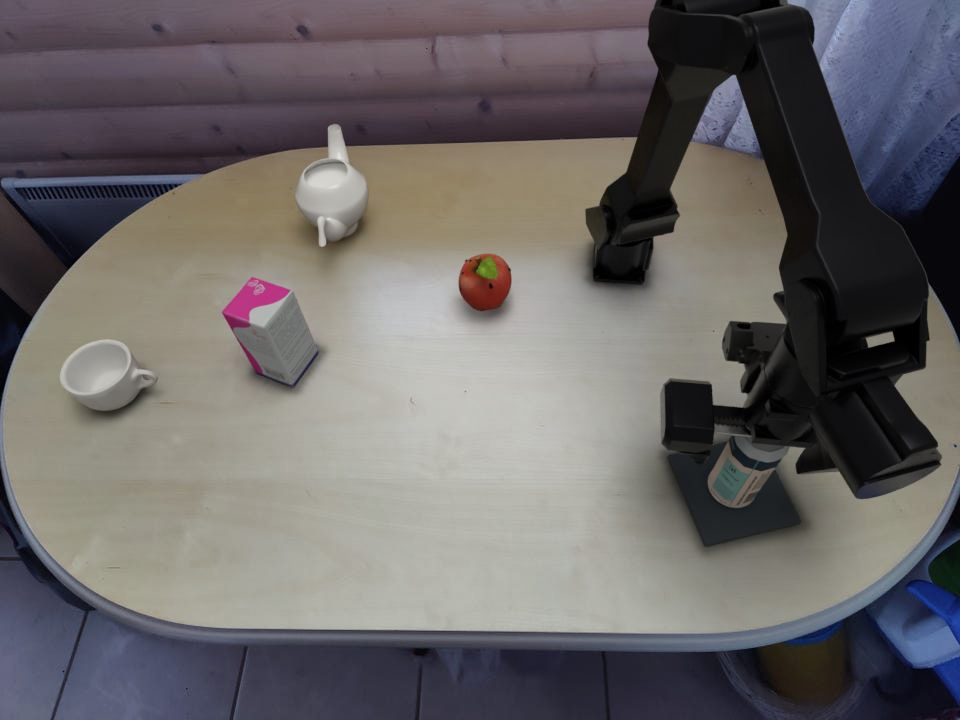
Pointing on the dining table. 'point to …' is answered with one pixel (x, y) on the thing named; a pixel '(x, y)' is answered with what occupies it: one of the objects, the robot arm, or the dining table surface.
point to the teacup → (104, 375)
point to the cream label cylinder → (743, 470)
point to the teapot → (332, 191)
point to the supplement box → (271, 331)
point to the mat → (728, 522)
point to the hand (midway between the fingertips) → (747, 464)
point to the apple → (485, 281)
